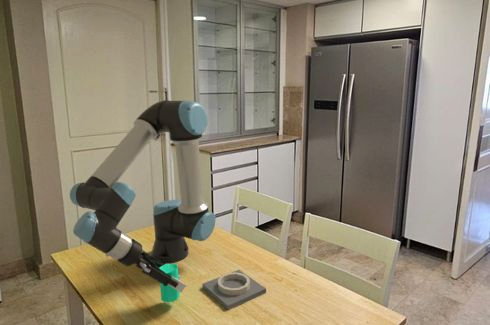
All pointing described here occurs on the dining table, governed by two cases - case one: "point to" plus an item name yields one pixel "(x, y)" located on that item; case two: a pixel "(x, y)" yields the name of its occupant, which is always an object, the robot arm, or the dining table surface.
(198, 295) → the dining table surface
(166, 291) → the candle
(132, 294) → the dining table surface
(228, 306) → the candle stand
